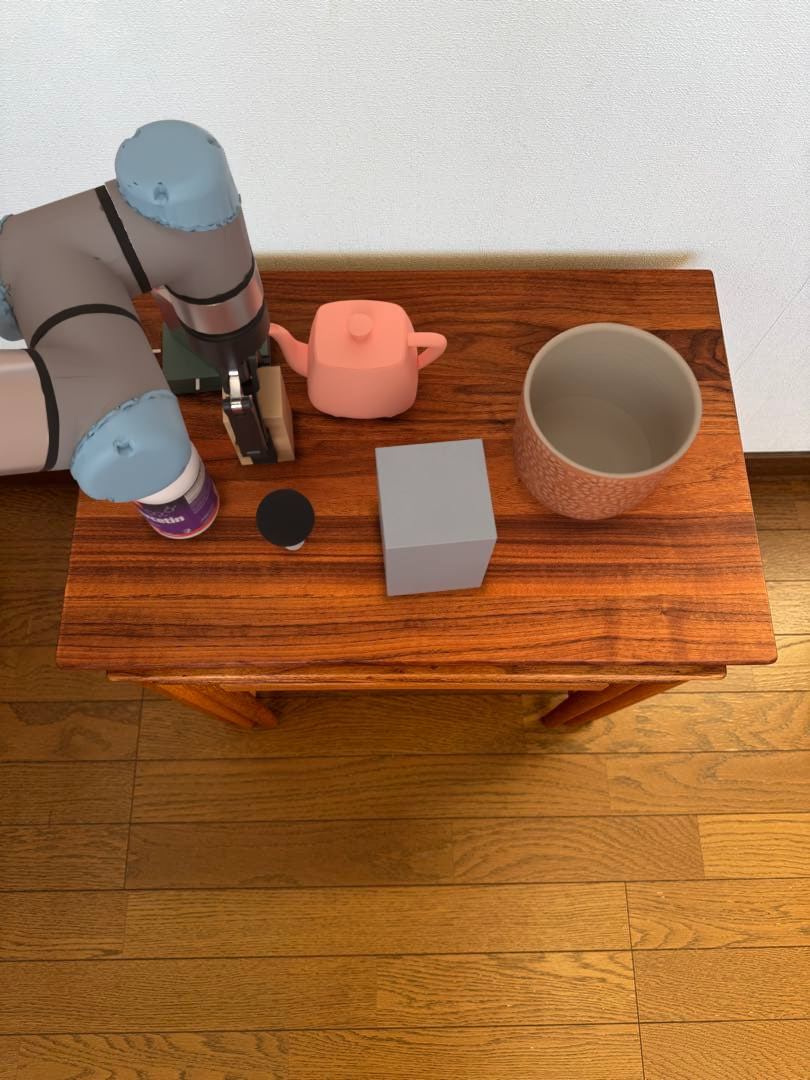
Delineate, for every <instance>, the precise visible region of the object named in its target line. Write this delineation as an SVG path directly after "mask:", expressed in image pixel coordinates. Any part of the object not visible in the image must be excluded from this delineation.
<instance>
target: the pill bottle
mask: <svg viewBox="0 0 810 1080" xmlns="http://www.w3.org/2000/svg"><path fill="white" fill-rule="evenodd" d="M190 442H191V449H192V454H191V458H190V461H189V464H188V465H187V467H186V469H185V471H184V472H183V474H182V475H181V476H180V477H179V478H178V479H177V480H176V481H175V482H173V483H172V484H171V485H169V486H168V487H166V488H165V489H163V490H161V491H160V492H158V493H155V494H153V495H151V496H148V497H145V498H142V499H139V500H135V501H131V502H132V503H133V505H134V506H135V507H136V509H137V510H138V511H139V513H141V515H142V516H143V518H145V520H146V521H147V522H148V524H149V525H150V526H151V527H152V529H154V530H155V531H156V532H157V533H159V534H160V535H162V536H164V537H165V538H169V539H175V540H184V539H190V538H194V537H196V536H198V535H200V534H202V533H203V532H205V531H206V530H207V529H208V528H210V526H211V525H212V524H213V523H214V521H215V520H216V517H217V515H218V512H219V508H220V495H219V491H218V490H217V487H216V485H215V483H214V481H213V479H212V478H211V476H210V474H209V472H208V470H207V468H206V466H205V464H204V461H203V460H202V458H201V456H200V454H199V452H198V450H197V448H196V446H195V444H194V443H193V442H192V440H190Z"/></svg>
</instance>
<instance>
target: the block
mask: <svg viewBox="0 0 810 1080" xmlns="http://www.w3.org/2000/svg"><path fill="white" fill-rule="evenodd" d="M258 373H259V378H260V390H259V391H258V392H257V393H258V397H259V401H260V406H261V410H262V415H263V419H264V424H265V428H268V429H269V432H270V435H271V438H272V441H273V444H274V447H275V450H276V453H277V456H278V463H280V462H292V461H295V460H296V456H295V441H294V424H293V412H292V409H291V405H290V401H289V397H288V394H287V389H286V386H285V382H284V378H283V374H282V370H281V366H280V365H276V366H271V367H264V368H258ZM251 378H252V376H251ZM221 391H222V395H221V396H222V397H221V398H222V399H221V400H223V399H225V397H228V396H230V395H228V394H226V393H224V391H223V387H222V390H221ZM222 423H223V425H224V427H225V429H226V431H227V434H228V436H229V439H230V441H231V443H232V446H233V447H234V450H235V452H236V455H237V457H238V460H239V461H240V464H241V465H242V466H246V465H253V462H252V460H251V457H242V454H241V453H240V449H239V446H238V445H235V443H236V442H235V435H234V432H233V430H232V427H231V424H230V421H229V419H228V417H227V415H226V414H225V413H224V410H223V409H222Z"/></svg>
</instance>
